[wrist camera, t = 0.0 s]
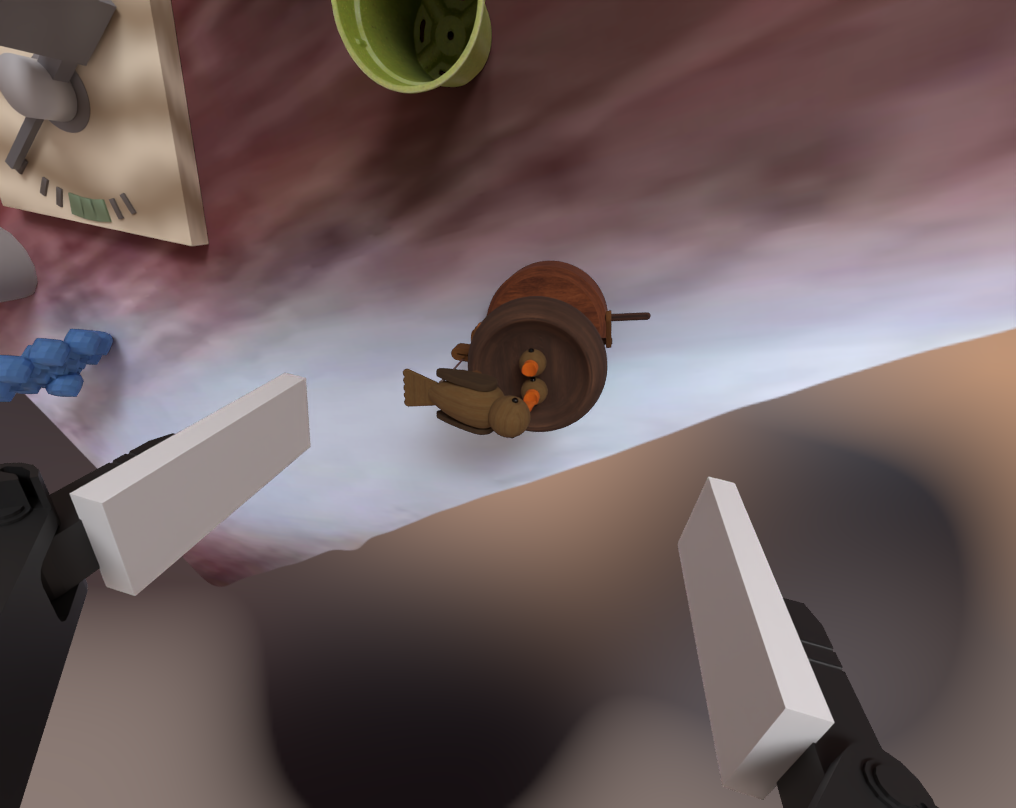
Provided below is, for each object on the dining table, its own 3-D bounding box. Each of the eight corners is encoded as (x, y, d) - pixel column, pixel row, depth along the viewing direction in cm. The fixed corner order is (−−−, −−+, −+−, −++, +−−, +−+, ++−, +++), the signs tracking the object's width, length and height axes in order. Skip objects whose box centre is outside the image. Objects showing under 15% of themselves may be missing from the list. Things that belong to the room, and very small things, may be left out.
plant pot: (503, 123, 34) (472, 104, 27) (390, 103, 35) (330, 79, 28) (525, -36, 30) (496, -113, 22) (396, -54, 31) (326, -133, 24)
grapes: (104, 395, 57) (-11, 441, 46) (63, 350, 55) (-67, 388, 44) (152, 357, 52) (36, 399, 42) (109, 307, 51) (-24, 338, 40)
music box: (495, 388, 45) (410, 494, 26) (468, 278, 41) (349, 313, 23) (652, 363, 40) (679, 471, 22) (636, 238, 37) (652, 243, 19)
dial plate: (-68, -80, 37) (-105, -95, 35) (162, -51, 34) (135, -65, 32) (26, 205, 47) (0, 205, 45) (208, 243, 44) (190, 246, 42)
